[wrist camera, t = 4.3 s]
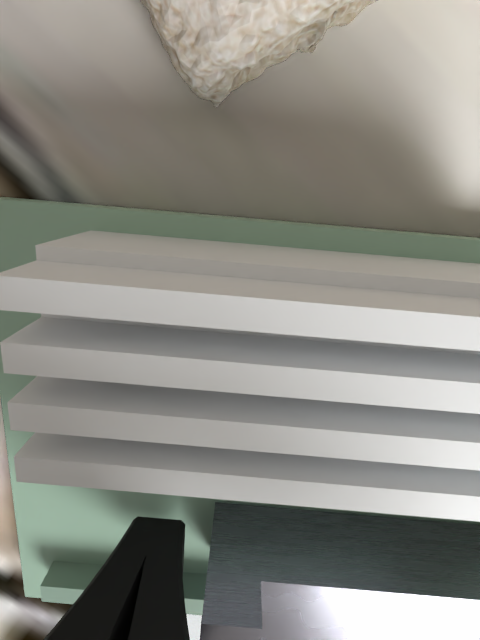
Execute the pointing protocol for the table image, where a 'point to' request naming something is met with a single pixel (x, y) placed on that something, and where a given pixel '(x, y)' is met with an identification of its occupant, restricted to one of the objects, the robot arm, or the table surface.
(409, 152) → the table surface
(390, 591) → the bar
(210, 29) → the washcloth
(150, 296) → the board
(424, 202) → the table surface
